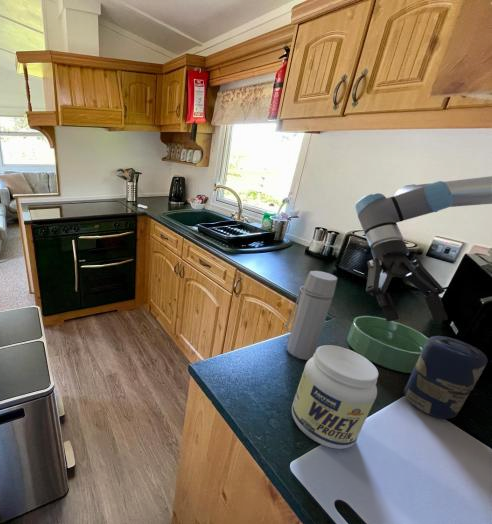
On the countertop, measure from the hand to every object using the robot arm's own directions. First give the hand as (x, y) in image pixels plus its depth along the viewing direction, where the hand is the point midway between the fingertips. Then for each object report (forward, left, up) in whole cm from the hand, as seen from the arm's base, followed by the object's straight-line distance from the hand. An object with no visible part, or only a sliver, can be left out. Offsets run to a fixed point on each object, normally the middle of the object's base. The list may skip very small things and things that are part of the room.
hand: (417, 320), depth 72 cm
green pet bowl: (+2, -13, -18) cm, 22 cm away
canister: (-7, +6, -18) cm, 20 cm away
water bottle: (+22, +7, -18) cm, 29 cm away
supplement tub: (+11, +31, -18) cm, 38 cm away
